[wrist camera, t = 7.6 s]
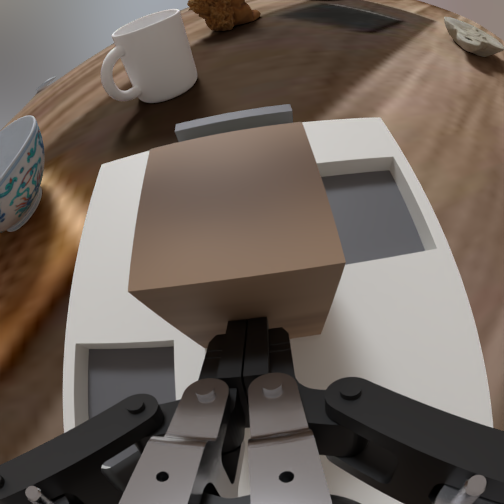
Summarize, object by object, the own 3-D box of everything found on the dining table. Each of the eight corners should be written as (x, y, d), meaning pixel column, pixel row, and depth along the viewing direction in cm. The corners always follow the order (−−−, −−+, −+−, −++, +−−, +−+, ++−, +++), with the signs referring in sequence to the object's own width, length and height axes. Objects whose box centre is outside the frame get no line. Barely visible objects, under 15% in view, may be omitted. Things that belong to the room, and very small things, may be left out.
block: (320, 334, 14) (346, 262, 7) (204, 348, 15) (127, 291, 8) (302, 234, 17) (301, 121, 10) (201, 248, 18) (150, 149, 11)
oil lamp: (499, 81, 29) (506, 59, 25) (428, 46, 35) (432, 23, 31) (500, 57, 35) (504, 40, 31) (446, 30, 41) (449, 13, 37)
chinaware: (91, 175, 26) (53, 121, 20) (3, 290, 21) (-51, 252, 14) (44, 150, 32) (17, 111, 25) (-22, 233, 27) (-57, 200, 20)
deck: (477, 495, 9) (510, 505, 5) (97, 530, 11) (62, 544, 7) (377, 134, 24) (383, 99, 20) (111, 178, 25) (91, 149, 22)
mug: (138, 129, 29) (102, 52, 20) (106, 116, 32) (74, 54, 23) (212, 76, 33) (194, 6, 24) (172, 70, 36) (153, 11, 27)
